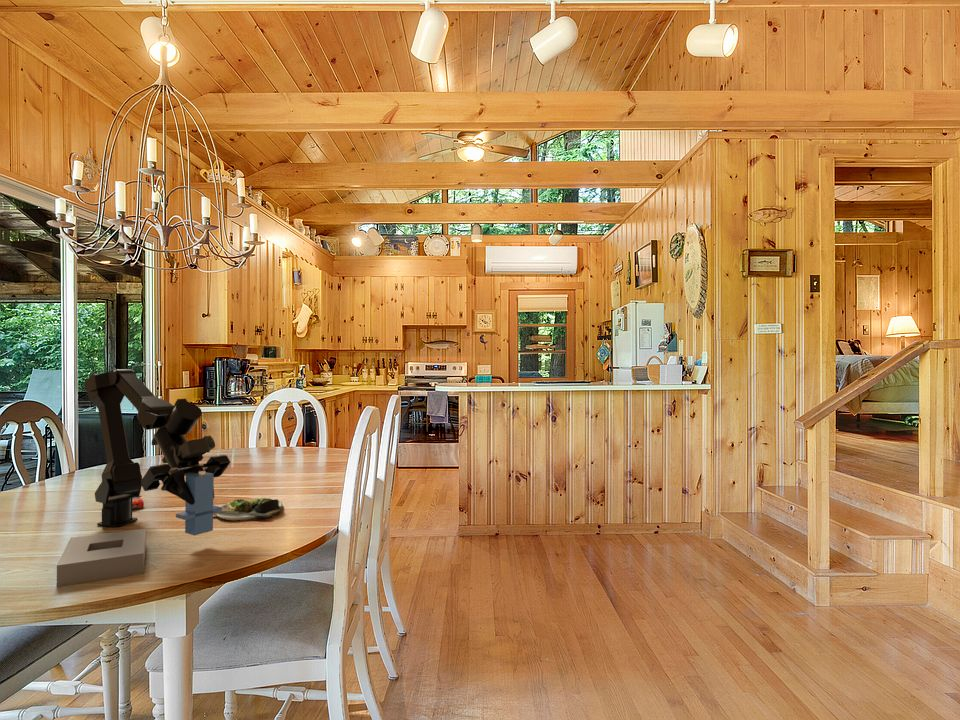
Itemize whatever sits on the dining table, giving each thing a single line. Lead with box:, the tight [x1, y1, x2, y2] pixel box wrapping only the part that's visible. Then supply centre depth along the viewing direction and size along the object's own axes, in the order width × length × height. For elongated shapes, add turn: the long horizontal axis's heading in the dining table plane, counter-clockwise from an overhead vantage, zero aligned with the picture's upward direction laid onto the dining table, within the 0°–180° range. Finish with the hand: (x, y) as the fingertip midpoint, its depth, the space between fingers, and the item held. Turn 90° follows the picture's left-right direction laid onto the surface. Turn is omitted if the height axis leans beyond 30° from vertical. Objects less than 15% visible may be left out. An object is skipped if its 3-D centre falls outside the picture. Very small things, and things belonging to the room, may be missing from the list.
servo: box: [175, 471, 222, 536], centre depth 127 cm, size 4×9×14 cm, turn 150°
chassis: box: [56, 528, 147, 587], centre depth 116 cm, size 18×14×4 cm
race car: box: [132, 495, 145, 511], centre depth 161 cm, size 13×5×4 cm, turn 42°
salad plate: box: [213, 497, 283, 522], centre depth 155 cm, size 19×18×5 cm
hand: (203, 501), depth 126 cm, fingers closed on servo, 4 cm apart
